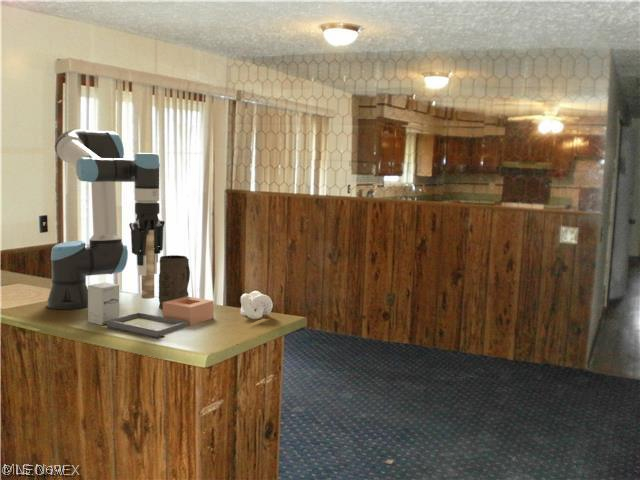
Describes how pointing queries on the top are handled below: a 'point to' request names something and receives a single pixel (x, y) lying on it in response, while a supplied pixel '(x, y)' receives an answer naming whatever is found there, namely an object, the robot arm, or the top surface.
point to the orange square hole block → (189, 309)
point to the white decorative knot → (255, 305)
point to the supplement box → (103, 302)
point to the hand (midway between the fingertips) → (147, 274)
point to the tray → (144, 331)
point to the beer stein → (173, 278)
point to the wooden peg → (149, 268)
